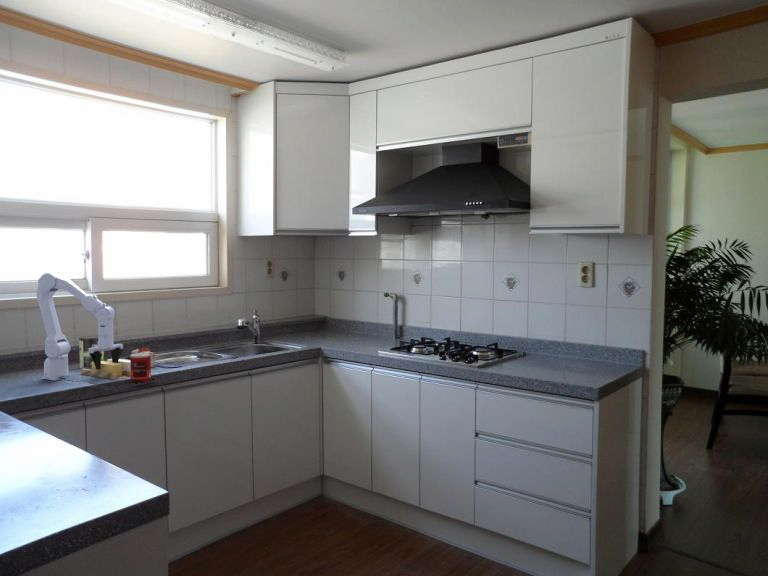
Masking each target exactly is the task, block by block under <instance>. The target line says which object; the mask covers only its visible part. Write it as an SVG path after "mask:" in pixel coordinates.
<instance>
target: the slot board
mask: <svg viewBox="0 0 768 576" xmlns="http://www.w3.org/2000/svg"><path fill="white" fill-rule="evenodd" d="M80 370H81V372H80V373H81V375H84V376H92V377H97V378H104V379H109V380H119V379H123V378H131V371H129V370H122V376H118V377H117V374H114V373H108V372H101V371H95V370H92V369H89V368H84V369H80Z"/></svg>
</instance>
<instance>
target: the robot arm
mask: <svg viewBox="0 0 768 576" xmlns="http://www.w3.org/2000/svg"><path fill="white" fill-rule="evenodd" d="M37 283H38V285H37V290H36V299H37V302H38V303H37V304H38V307H39V310H40V311H39V312H40V314H41V318H42V322H43V325H44V329H45V333H46V338H45V341H44V345H45V348H44V354H45V356H47V358H46V359H45V360H44V361H43V373H44V375H43V376H42V378H41V379H43V380H48V381H54V382H57V381H63V380H67V377H65V376H68V375H69V353H70V351H71V350H72V349H71V348H72V347H71V344H70V342H69V341H68V339H67V336H66V335H65V334H63V332H62V329H61V325H60V321H59V318H58V314H57V310H56V305H55V301H54V298H53V296H55V294H56V292H57V291H59V290H65V291H66V292H68V293H69V294H71V295H72V296H74V297H75V298H76V299H79V300H80V301H81V305H82V307H84V309H86V310H88V311H89V312H91V314H93V315H94V317H95V319H96V320H97V336H98V345H99V346H97V347H93V348H89V354H90V356H91V358H92V359H93V361H94V364H95V367H96V369H97V370H100V369H101V357H102V353H100V352H101V351H104V352H106V351H110V355H111V359H112V363H118V360H119V359H120V357H121V355H122V353H123V349H124V344H123V343H116V344H114V318H115V315H116V311H115V309H114V308H113V307H112V306H111V305H107V303H106V302H103V301H101V300H100V299H99V298H98V296H97V295H95V294H94V295H93V294H87V293H86V291H84V290H83V289H81V287H79V286H78V285H77V284H75V283H74V282H73V281H72V280H71V279H70V278H69V277H68V276H66V275H65V274H64V273H61V272H54V273H53V272H51V273H48V272H47V273H46V272H45V273H44V274H42V275H41V276H40V277H39V278H38V279H37ZM103 349H104V350H103Z"/></svg>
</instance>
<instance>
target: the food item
mask: <svg viewBox="0 0 768 576" xmlns="http://www.w3.org/2000/svg"><path fill="white" fill-rule="evenodd" d="M130 353H131V354H130V355H132V354H136V353H149V354H150V357H151V368H155V367H156V361H157V360H156V352H152V351H151V350H150V349H149V348H148V347H144V346H142V347H141V348H138V347H137V348H136V349H134V350H132V351H130Z"/></svg>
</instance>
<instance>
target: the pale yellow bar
mask: <svg viewBox="0 0 768 576" xmlns="http://www.w3.org/2000/svg"><path fill="white" fill-rule="evenodd" d="M91 370H95V371H101V372H108V373H114V374H117V377H118V376H122V364H120V363H112V362H107V361H105V360H104V361H101V369H100V370H97V369H96V367H95V364H94V362H92V367H91Z"/></svg>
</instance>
